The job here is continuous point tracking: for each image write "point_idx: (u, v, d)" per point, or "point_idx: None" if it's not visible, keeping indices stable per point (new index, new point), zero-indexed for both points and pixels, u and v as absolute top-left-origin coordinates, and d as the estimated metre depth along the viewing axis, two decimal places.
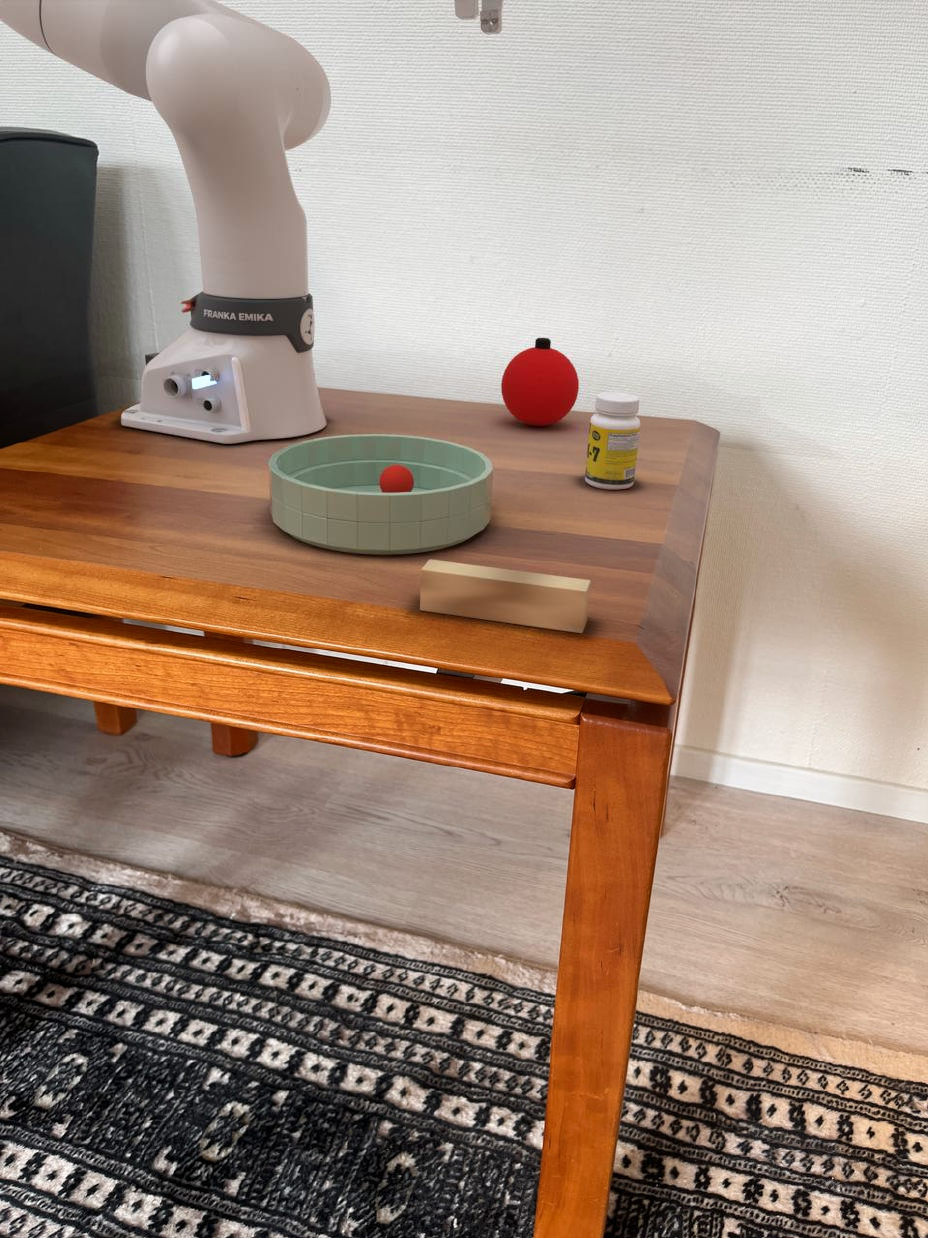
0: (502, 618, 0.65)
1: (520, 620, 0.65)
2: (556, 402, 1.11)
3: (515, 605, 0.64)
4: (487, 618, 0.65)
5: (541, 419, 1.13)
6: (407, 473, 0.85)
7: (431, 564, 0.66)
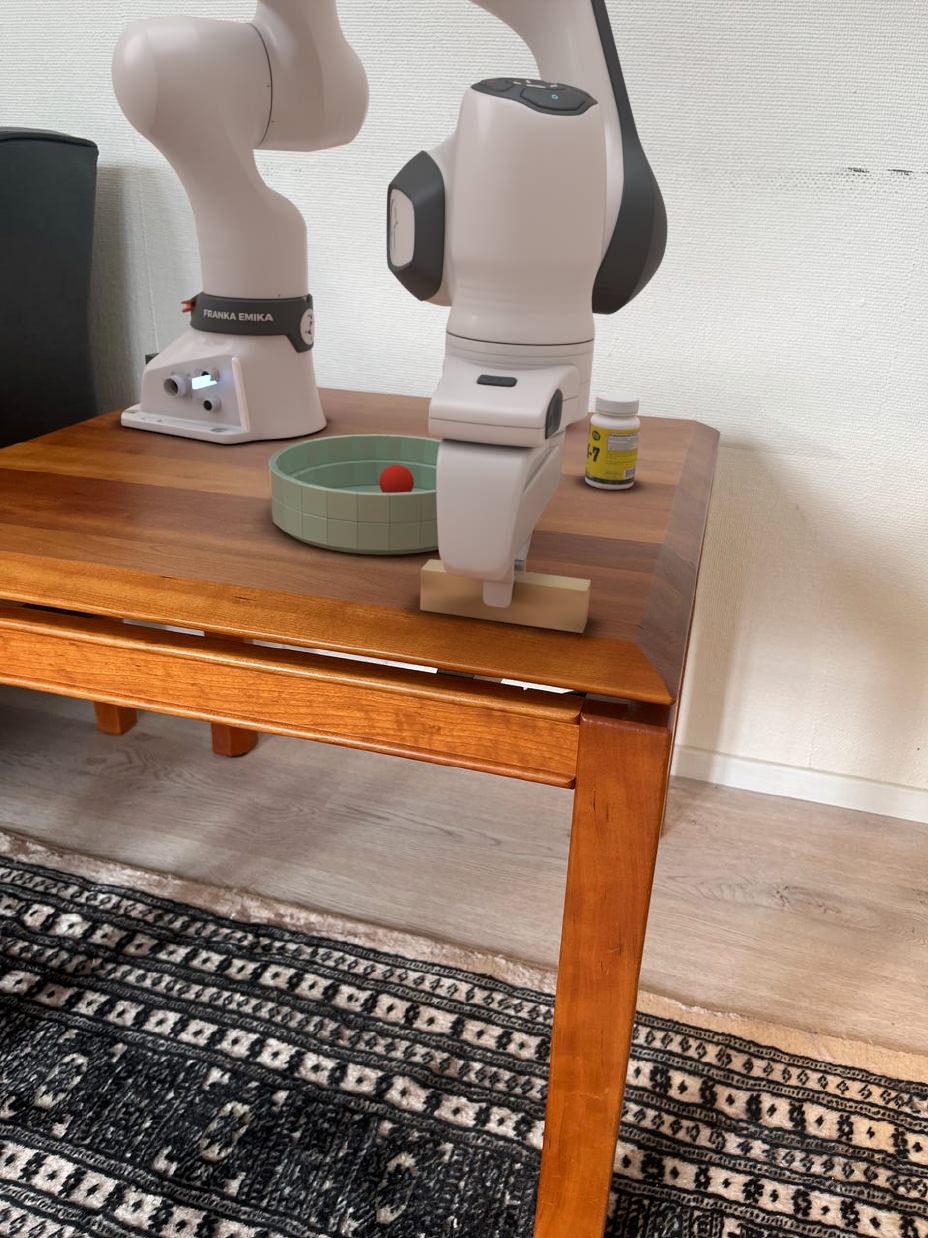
0: (502, 618, 0.65)
1: (520, 620, 0.65)
2: None
3: (515, 604, 0.64)
4: (487, 618, 0.65)
5: None
6: (407, 473, 0.85)
7: (431, 564, 0.66)
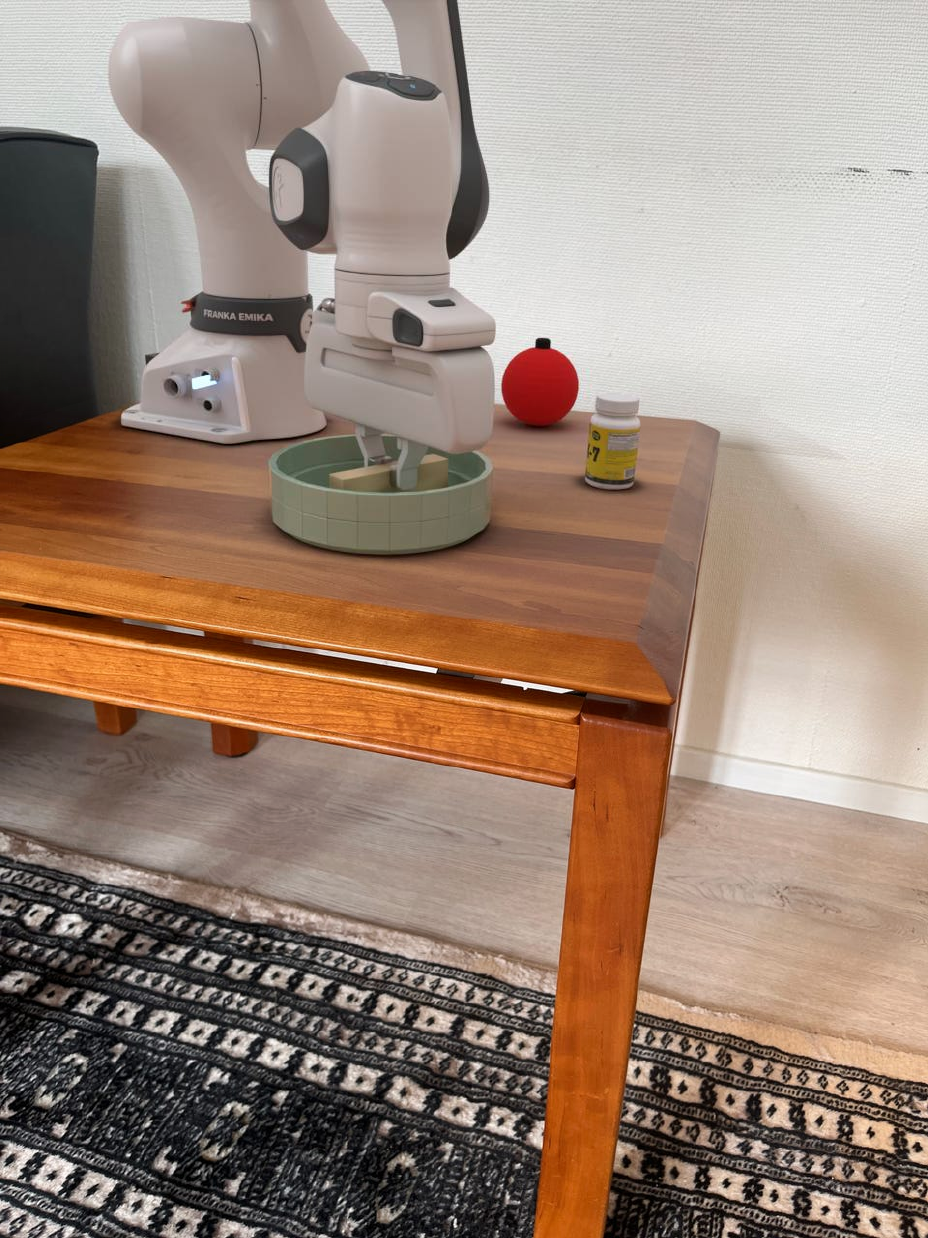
0: None
1: None
2: (556, 402, 1.11)
3: None
4: None
5: (541, 419, 1.13)
6: None
7: (340, 475, 0.78)
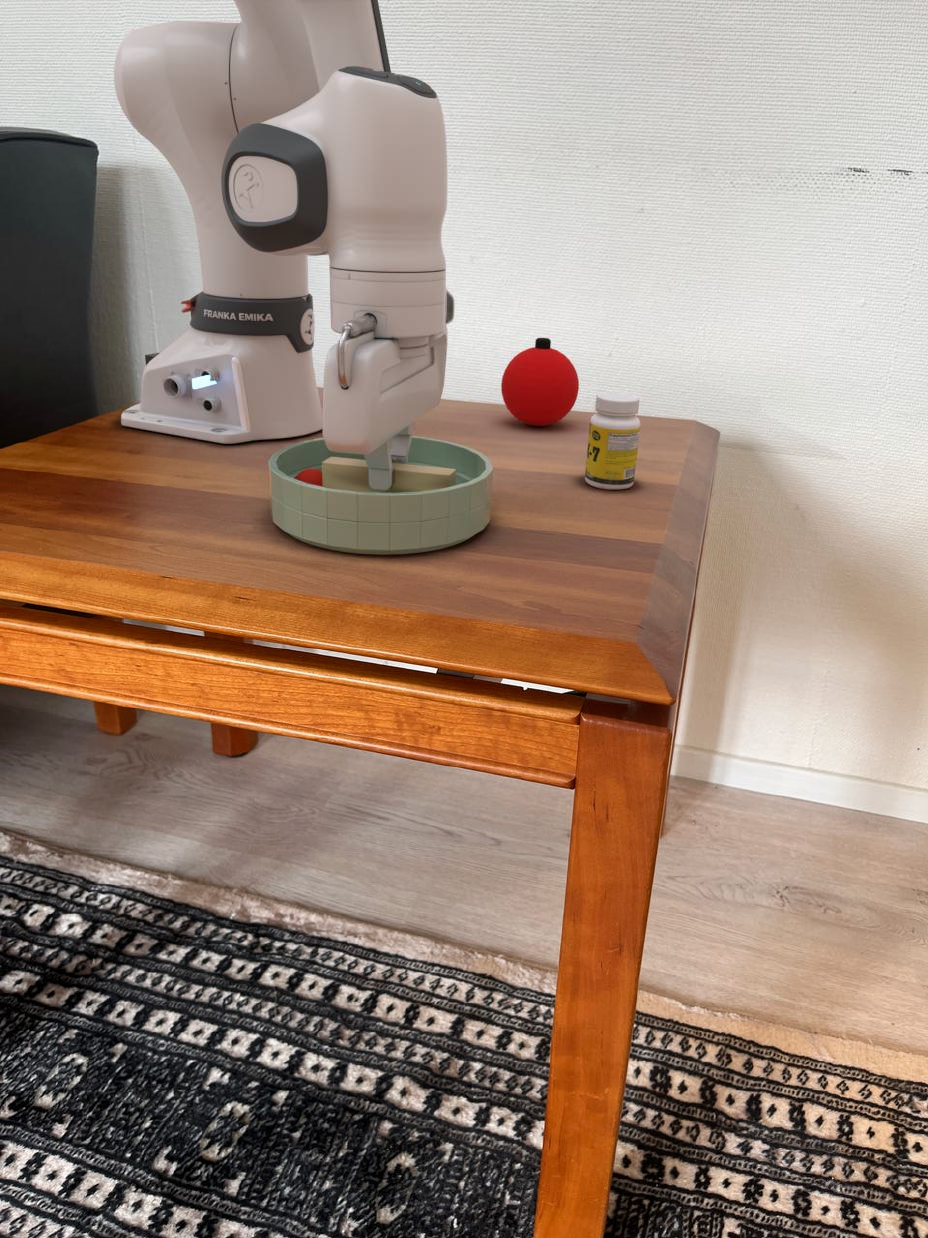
0: None
1: None
2: (556, 402, 1.11)
3: None
4: None
5: (541, 419, 1.13)
6: None
7: (447, 471, 0.80)
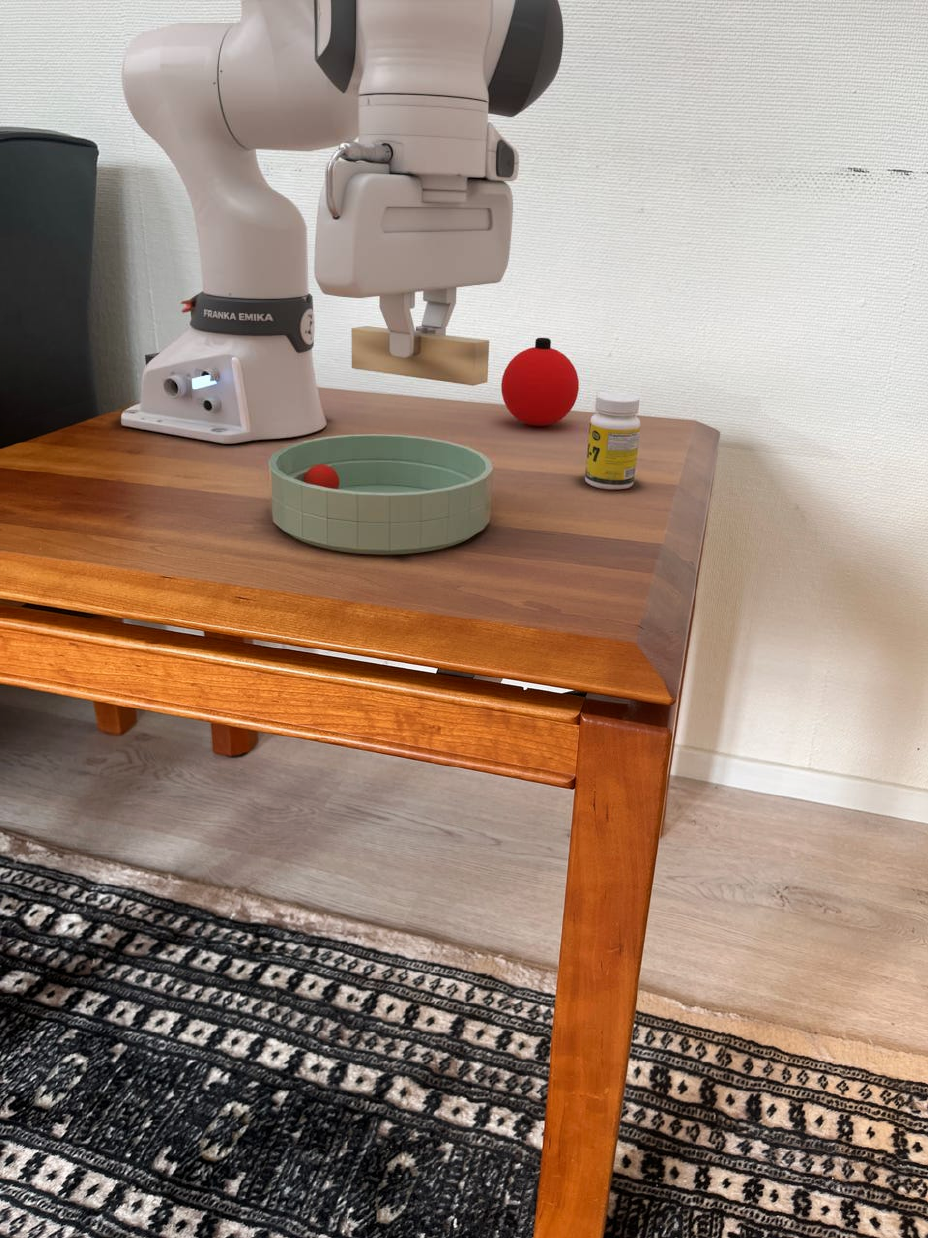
0: None
1: None
2: (556, 402, 1.11)
3: None
4: None
5: (541, 419, 1.13)
6: None
7: (477, 340, 0.70)
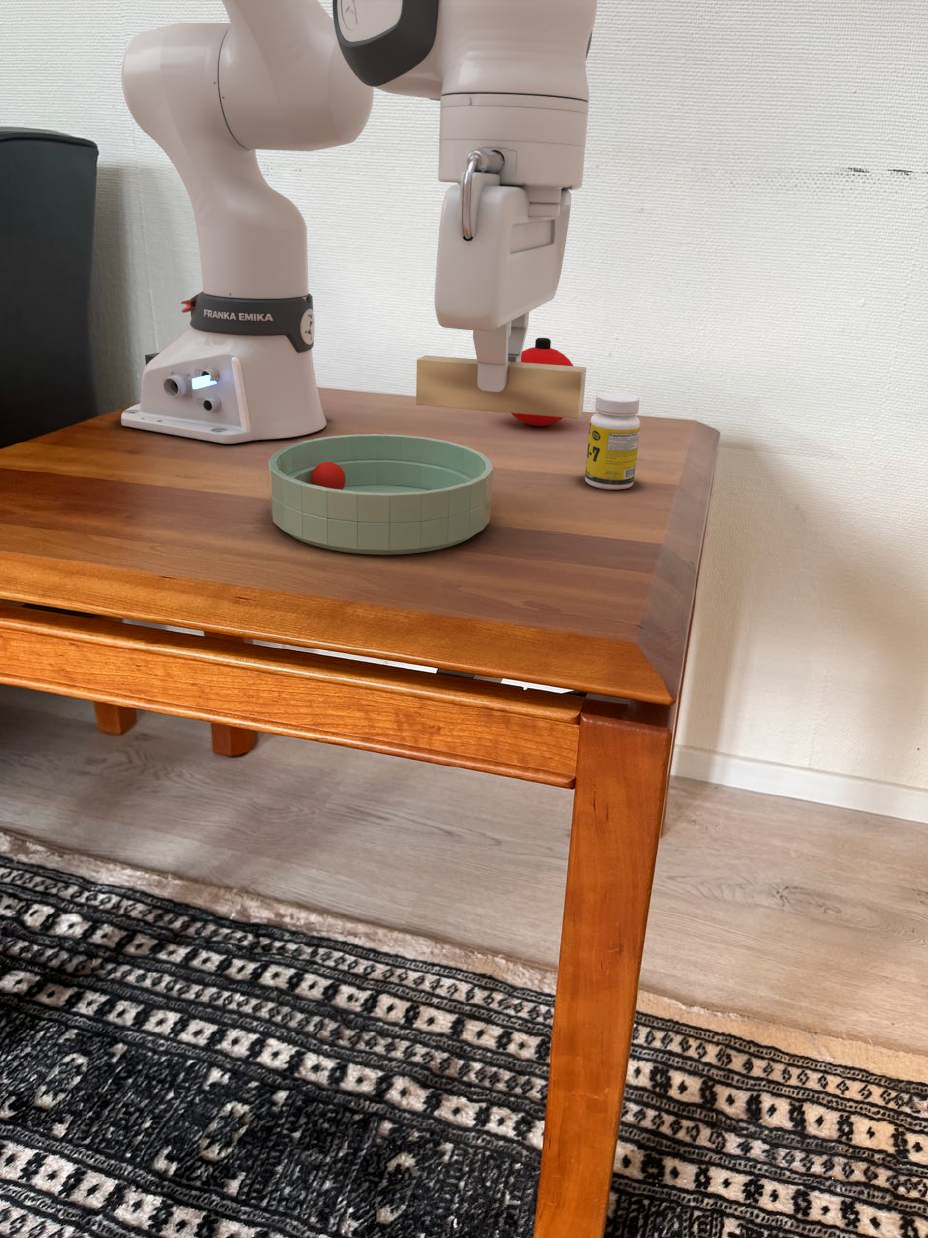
0: None
1: None
2: None
3: None
4: None
5: (541, 419, 1.13)
6: None
7: (577, 368, 0.63)
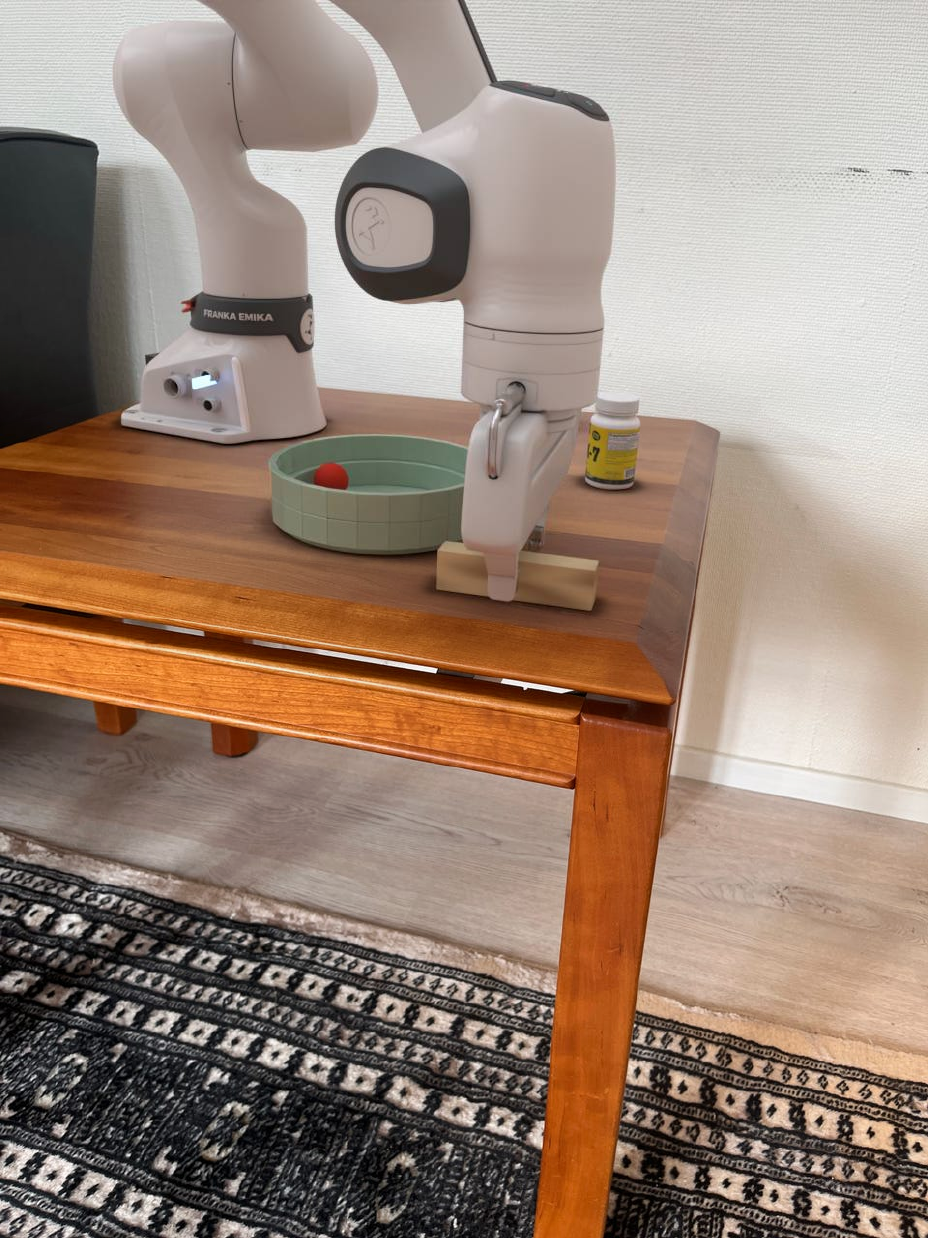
0: None
1: None
2: None
3: None
4: None
5: None
6: None
7: (591, 564, 0.67)
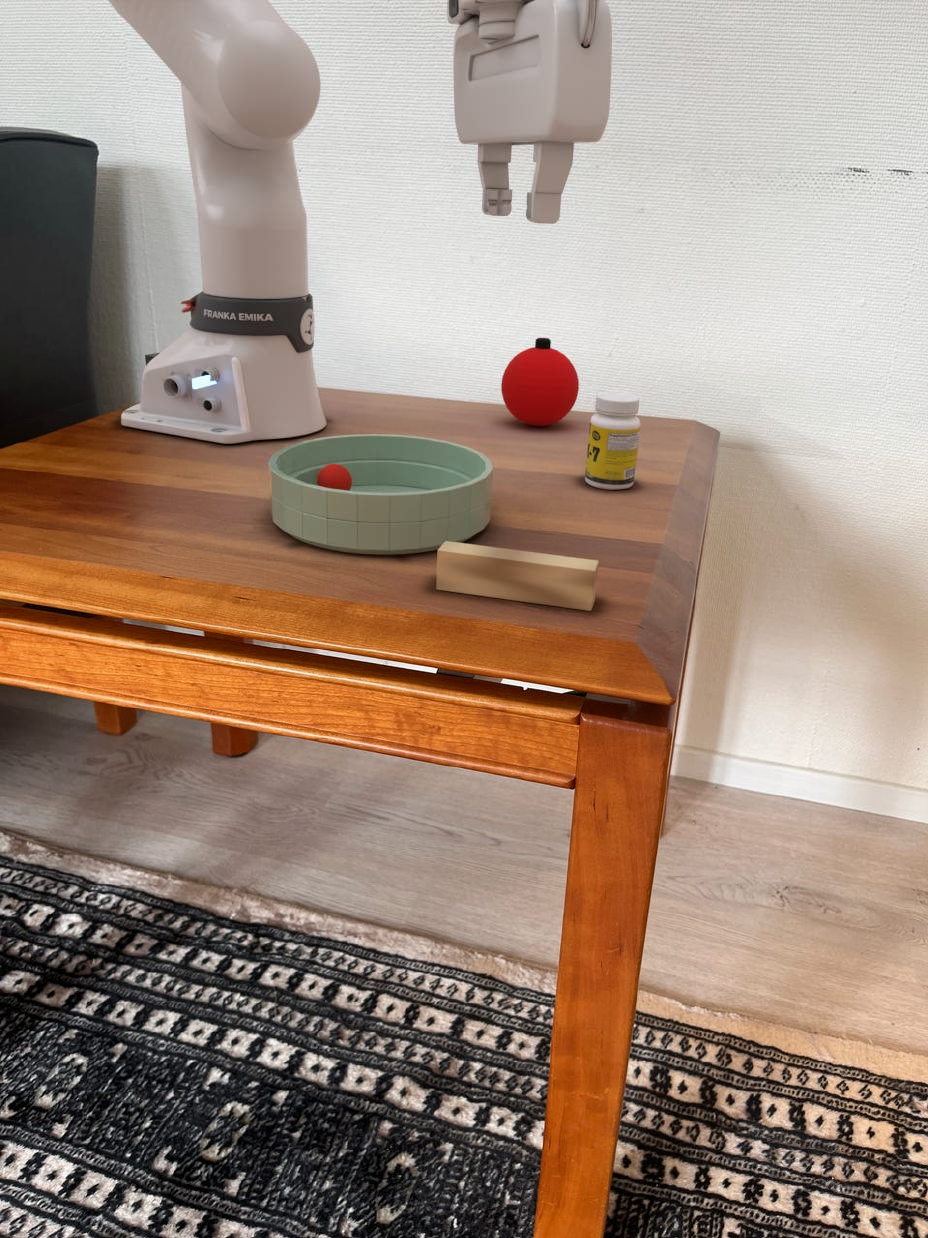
0: None
1: None
2: (556, 402, 1.11)
3: None
4: None
5: (541, 419, 1.13)
6: None
7: (591, 564, 0.67)
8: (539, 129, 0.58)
